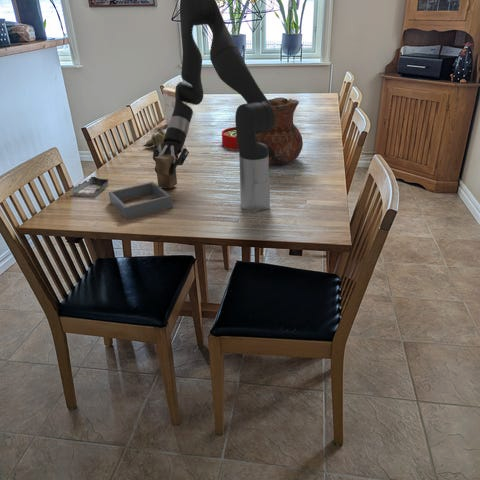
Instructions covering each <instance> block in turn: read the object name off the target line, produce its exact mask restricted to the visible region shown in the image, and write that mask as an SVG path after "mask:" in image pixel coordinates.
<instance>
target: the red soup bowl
mask: <svg viewBox="0 0 480 480" xmlns="http://www.w3.org/2000/svg"><path fill="white" fill-rule="evenodd" d="M221 145H222V146H223V147H224V146H225V147H224V148H226V147H227V148H226V149H229V148H231V149H230V150H236V149H238V145H237V134H236V126H233V127H232V126H231V127H227V128H225V129H223V130H222V131H221ZM238 151H239V149H238Z"/></svg>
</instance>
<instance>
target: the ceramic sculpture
mask: <svg viewBox="0 0 480 480" xmlns="http://www.w3.org/2000/svg"><path fill="white" fill-rule="evenodd" d="M166 130H167V127H166V128H165V129H162V128H158V129H157V130H156V131H155V132H153V133H152V134H151V138H150V139H148V140H147V141H146V143H145V144H143V145H142V147H147V148H151V147H154V146H155V145H157V146H161V145H162V144H163V142H164V136H165V133H166Z"/></svg>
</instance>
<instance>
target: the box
mask: <svg viewBox="0 0 480 480" xmlns="http://www.w3.org/2000/svg"><path fill="white" fill-rule="evenodd" d="M148 195H153V196H155V197H156V198H154V199H153V198H152V199H148V200H146V201H142V202H138V203H134V204H130V205H129V204H128V205H126V204H125V203H124V201H128V200H131V199H136V198H140V197H144V196H148ZM108 196H109V203H110V204H111V206H113V207H114V208H115V209H116V210H117V211H118V213H120V215H121V216H122V217H123V218H124V219H125V220H129V219H133V218H137V217H141V216H145V215H148V214H149V215H150V214H153V213H155V212H159V211H163V210H167V209H170V208H173V201H172V199H173V198H172V196H171V195H170V194H169V193H168V192H166V191H165V190H164V189H163V188H162V187H159V186H158V184H156V183H155V182H154V181H149V182H145V183H141V184H137V185H132V186H127V187H125V188H120V189H115V190H112V191H108Z"/></svg>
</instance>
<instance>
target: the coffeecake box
mask: <svg viewBox="0 0 480 480" xmlns="http://www.w3.org/2000/svg"><path fill="white" fill-rule="evenodd" d="M175 90H176V87H172V86H171V87H164V88H162V95H163V97H162V98H163V107H164V115H165V123H166V125H167V126H168V124H169V122H170V120H171V117H172V114H173V111H174V107H175ZM183 103H184V104H186V105H188V103H186V102H183Z"/></svg>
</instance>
